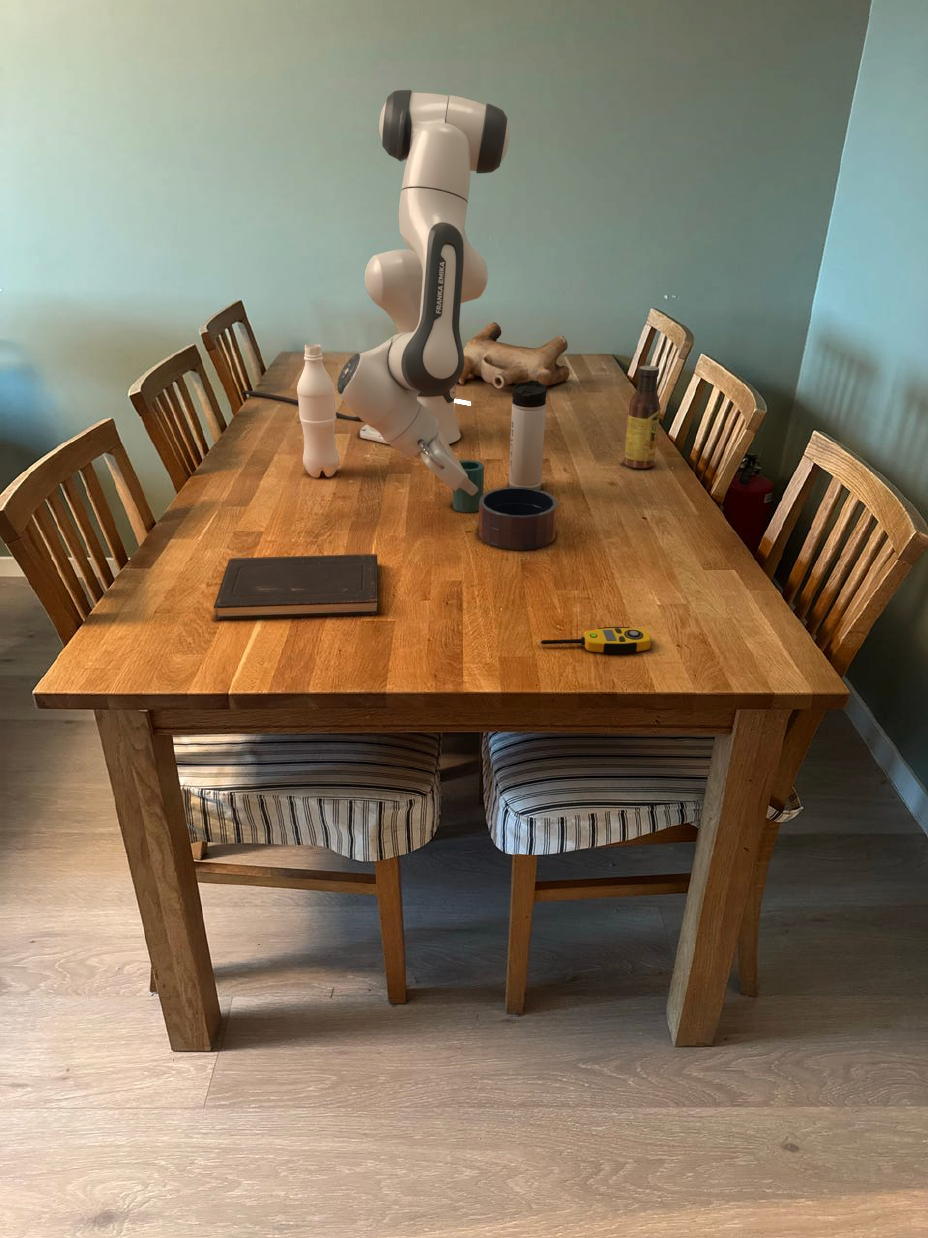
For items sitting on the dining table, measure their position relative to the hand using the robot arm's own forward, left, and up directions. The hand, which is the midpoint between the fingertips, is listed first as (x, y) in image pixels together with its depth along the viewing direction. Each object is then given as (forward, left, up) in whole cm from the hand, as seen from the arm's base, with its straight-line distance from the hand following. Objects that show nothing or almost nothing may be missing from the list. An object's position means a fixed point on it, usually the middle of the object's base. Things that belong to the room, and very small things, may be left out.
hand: (469, 482), depth 159 cm
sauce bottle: (+25, +34, -5) cm, 42 cm away
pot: (+12, -8, -5) cm, 15 cm away
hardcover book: (-12, -40, -5) cm, 42 cm away
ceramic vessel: (-21, +83, -5) cm, 86 cm away
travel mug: (+7, +13, -5) cm, 16 cm away
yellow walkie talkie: (+33, -39, -5) cm, 51 cm away
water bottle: (-33, +5, -5) cm, 34 cm away
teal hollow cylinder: (0, 0, -5) cm, 5 cm away
